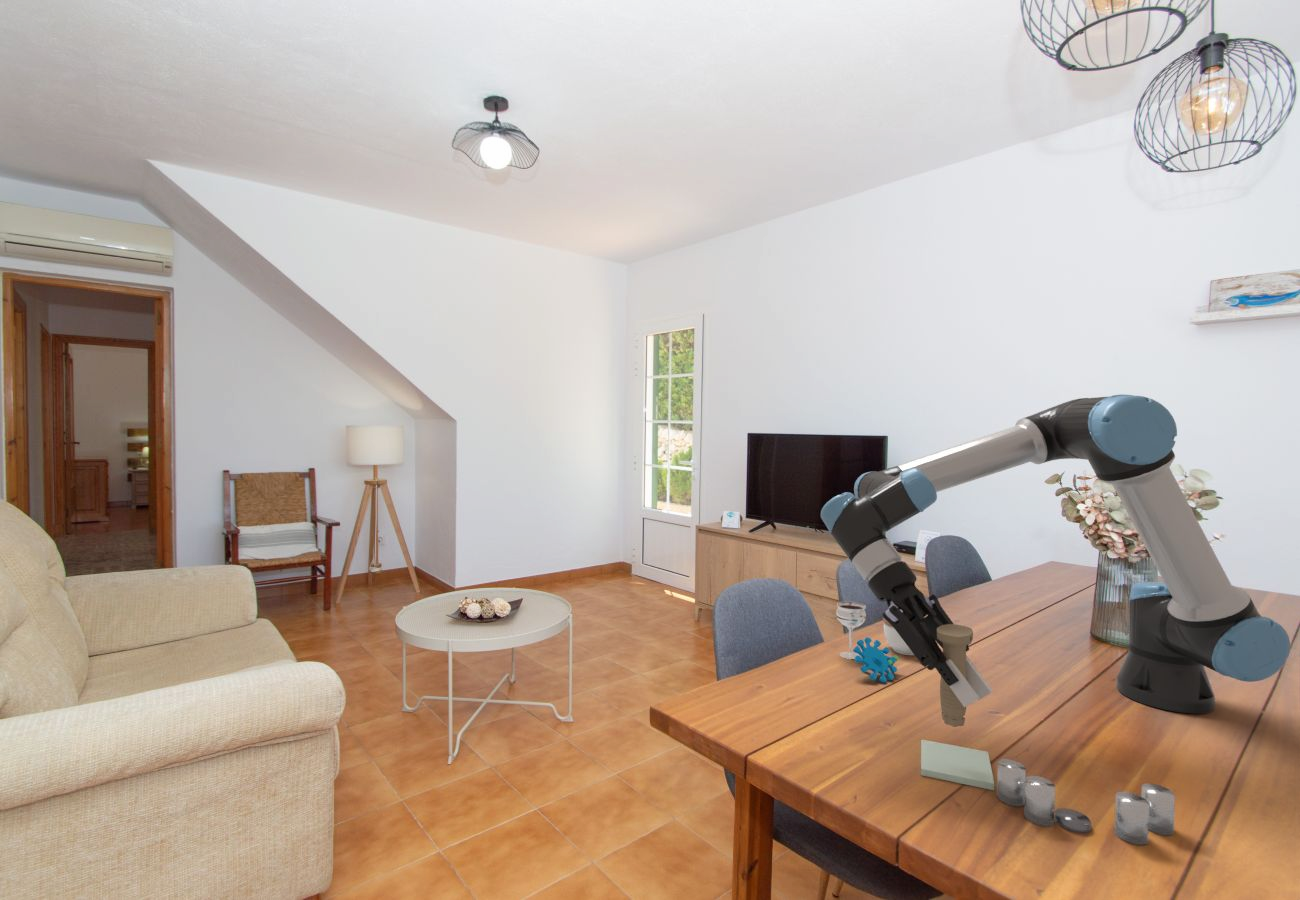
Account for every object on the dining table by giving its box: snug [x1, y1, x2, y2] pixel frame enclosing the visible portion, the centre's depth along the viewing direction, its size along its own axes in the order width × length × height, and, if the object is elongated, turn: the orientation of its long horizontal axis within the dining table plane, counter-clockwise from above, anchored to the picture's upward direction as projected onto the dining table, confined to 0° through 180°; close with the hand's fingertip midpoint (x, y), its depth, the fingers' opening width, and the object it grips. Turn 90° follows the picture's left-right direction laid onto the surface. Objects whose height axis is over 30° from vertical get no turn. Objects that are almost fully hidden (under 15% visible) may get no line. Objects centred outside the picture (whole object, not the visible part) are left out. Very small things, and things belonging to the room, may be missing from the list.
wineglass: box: [835, 601, 867, 660], centre depth 147 cm, size 7×7×12 cm
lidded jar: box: [882, 616, 926, 656], centre depth 150 cm, size 11×11×9 cm
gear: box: [852, 637, 899, 684], centre depth 136 cm, size 11×6×10 cm
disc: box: [1054, 807, 1092, 835], centre depth 85 cm, size 4×4×1 cm
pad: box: [920, 739, 995, 791], centre depth 99 cm, size 10×10×1 cm
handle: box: [937, 623, 974, 728], centre depth 99 cm, size 5×6×15 cm
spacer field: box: [996, 758, 1176, 846], centre depth 86 cm, size 21×8×5 cm, turn 66°
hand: (978, 699), depth 96 cm, fingers closed on handle, 3 cm apart
